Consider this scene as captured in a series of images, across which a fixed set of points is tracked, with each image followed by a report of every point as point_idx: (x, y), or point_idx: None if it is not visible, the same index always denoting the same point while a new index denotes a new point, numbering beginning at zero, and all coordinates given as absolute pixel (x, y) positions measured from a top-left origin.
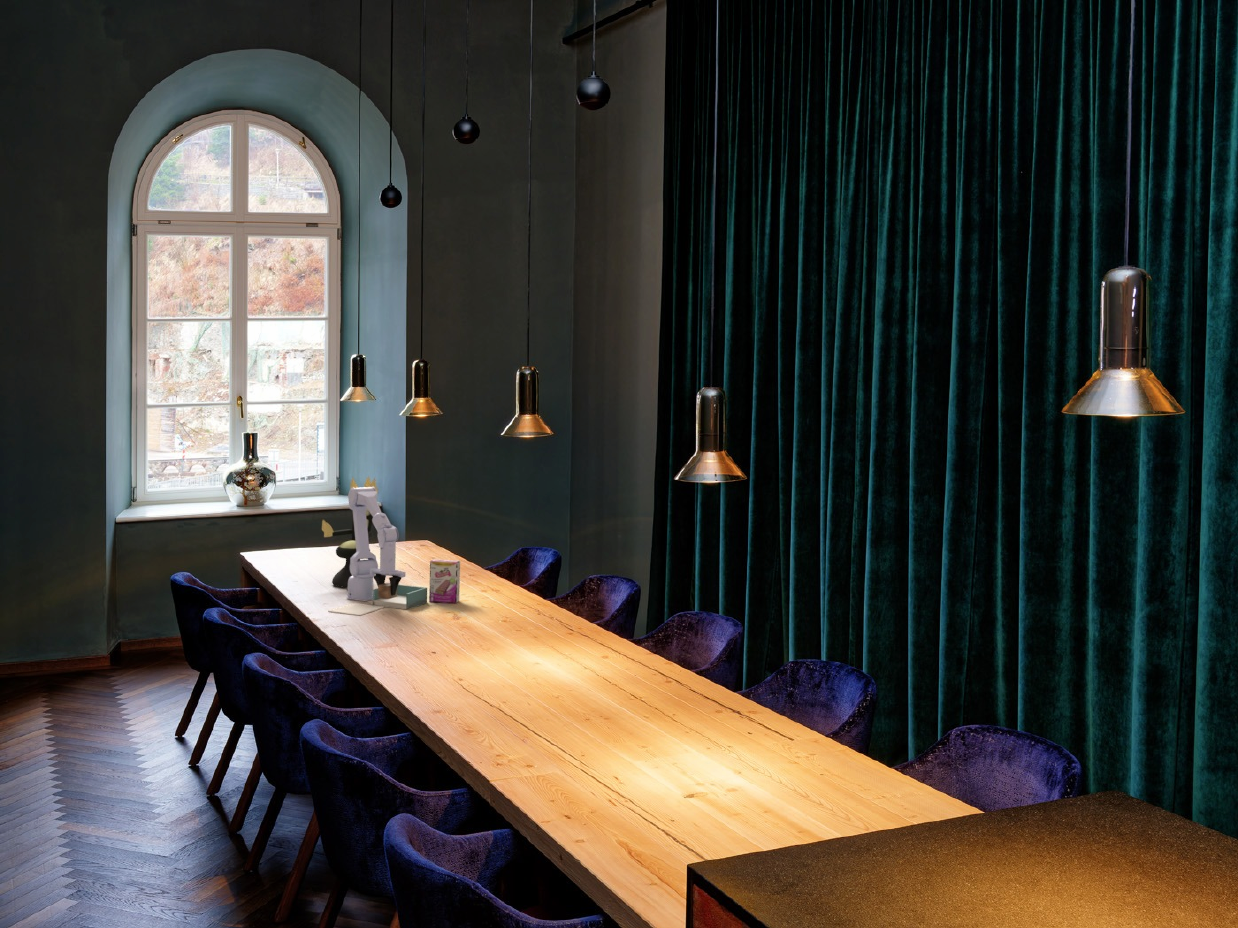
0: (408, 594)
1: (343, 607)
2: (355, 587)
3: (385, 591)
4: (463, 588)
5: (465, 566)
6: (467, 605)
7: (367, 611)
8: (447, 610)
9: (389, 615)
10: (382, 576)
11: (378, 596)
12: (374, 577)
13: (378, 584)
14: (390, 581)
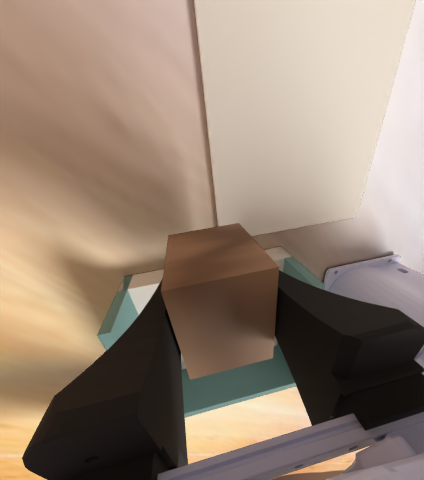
0: (99, 333)
1: (367, 115)
2: (415, 291)
3: (191, 254)
4: (206, 445)
5: (293, 471)
6: (43, 407)
7: (218, 108)
8: (3, 349)
9: (65, 121)
10: (322, 392)
11: (239, 226)
12: (397, 316)
13: (291, 286)
14: (143, 354)
